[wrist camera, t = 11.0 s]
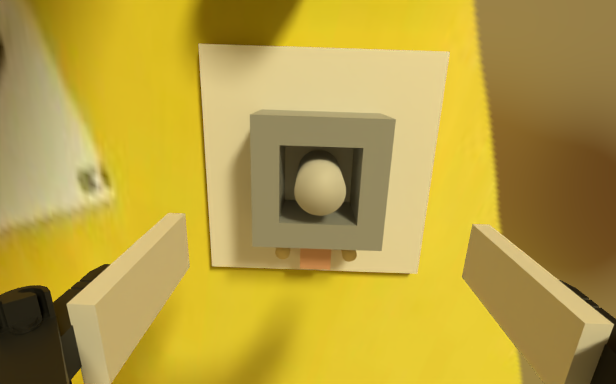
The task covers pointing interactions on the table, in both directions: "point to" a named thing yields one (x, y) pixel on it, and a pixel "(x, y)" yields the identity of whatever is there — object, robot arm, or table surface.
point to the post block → (319, 160)
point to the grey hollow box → (287, 213)
